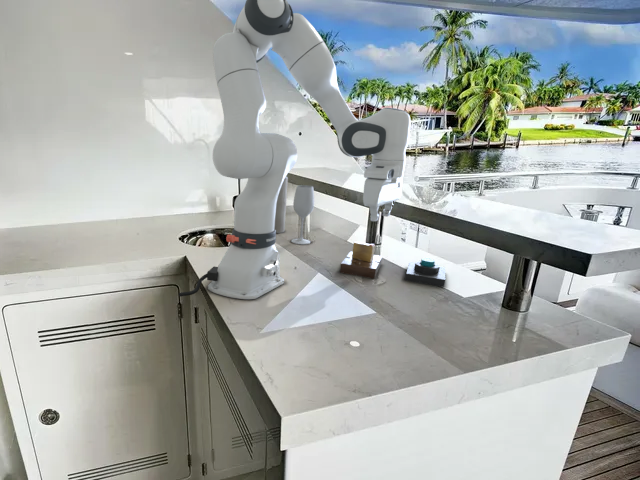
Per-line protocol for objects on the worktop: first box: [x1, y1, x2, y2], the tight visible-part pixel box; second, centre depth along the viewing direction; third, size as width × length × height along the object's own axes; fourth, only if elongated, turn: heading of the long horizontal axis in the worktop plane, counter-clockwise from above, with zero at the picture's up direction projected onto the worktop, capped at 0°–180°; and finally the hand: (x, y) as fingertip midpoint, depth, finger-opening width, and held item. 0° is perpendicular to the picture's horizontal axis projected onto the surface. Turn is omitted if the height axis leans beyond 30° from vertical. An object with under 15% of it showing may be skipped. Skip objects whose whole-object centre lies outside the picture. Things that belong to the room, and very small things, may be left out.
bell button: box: [420, 257, 436, 267], centre depth 110 cm, size 4×4×2 cm
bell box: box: [404, 260, 446, 288], centre depth 111 cm, size 12×10×4 cm
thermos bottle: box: [274, 176, 289, 234], centre depth 156 cm, size 8×8×28 cm
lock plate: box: [339, 251, 383, 279], centre depth 117 cm, size 14×10×3 cm
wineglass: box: [291, 184, 315, 245], centre depth 142 cm, size 8×8×21 cm
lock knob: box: [352, 240, 376, 262], centre depth 116 cm, size 6×2×5 cm, turn 49°
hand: (380, 218), depth 112 cm, fingers open, 8 cm apart
